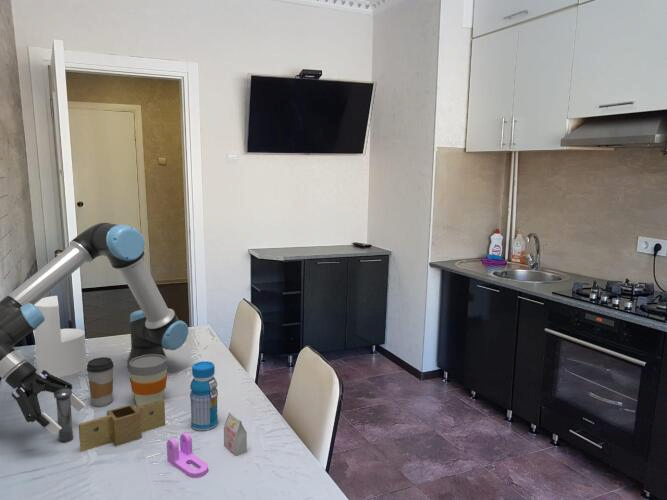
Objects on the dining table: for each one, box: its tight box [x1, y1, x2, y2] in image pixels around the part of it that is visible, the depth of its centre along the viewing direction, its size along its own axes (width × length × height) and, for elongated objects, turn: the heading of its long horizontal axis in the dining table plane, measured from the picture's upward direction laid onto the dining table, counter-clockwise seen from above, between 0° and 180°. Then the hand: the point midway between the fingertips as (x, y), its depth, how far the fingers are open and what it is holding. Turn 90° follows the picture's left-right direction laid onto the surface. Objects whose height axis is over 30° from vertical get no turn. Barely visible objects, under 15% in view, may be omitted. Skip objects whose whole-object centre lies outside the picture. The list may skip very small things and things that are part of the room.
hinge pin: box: [53, 389, 74, 444], centre depth 146 cm, size 5×5×15 cm
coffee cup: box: [86, 356, 115, 408], centre depth 169 cm, size 8×8×15 cm
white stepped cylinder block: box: [33, 295, 88, 378], centre depth 196 cm, size 17×17×28 cm
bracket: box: [166, 432, 209, 479], centre depth 135 cm, size 13×6×7 cm, turn 49°
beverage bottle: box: [189, 360, 219, 431], centre depth 156 cm, size 8×8×20 cm
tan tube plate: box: [78, 399, 166, 452], centre depth 149 cm, size 24×7×8 cm, turn 130°
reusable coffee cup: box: [128, 354, 168, 407], centre depth 171 cm, size 13×13×15 cm
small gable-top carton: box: [223, 412, 248, 457], centre depth 143 cm, size 4×7×10 cm, turn 40°
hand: (70, 419), depth 146 cm, fingers open, 13 cm apart
